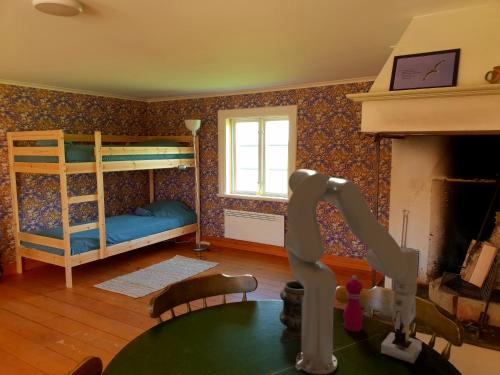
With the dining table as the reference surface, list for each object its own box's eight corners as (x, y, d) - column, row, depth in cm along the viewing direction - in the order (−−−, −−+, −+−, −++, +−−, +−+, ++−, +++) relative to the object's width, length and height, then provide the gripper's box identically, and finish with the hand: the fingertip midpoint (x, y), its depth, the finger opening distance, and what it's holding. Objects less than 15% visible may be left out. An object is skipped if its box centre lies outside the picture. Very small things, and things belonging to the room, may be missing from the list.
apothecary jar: (302, 344, 126) (302, 293, 125) (272, 334, 134) (272, 285, 132) (318, 330, 136) (319, 283, 134) (290, 321, 143) (290, 276, 141)
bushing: (406, 349, 119) (407, 325, 118) (393, 345, 122) (394, 322, 121) (409, 344, 122) (410, 321, 122) (397, 340, 125) (398, 317, 124)
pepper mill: (365, 332, 135) (367, 278, 133) (345, 332, 135) (346, 278, 133) (360, 323, 142) (361, 272, 140) (340, 323, 142) (342, 272, 140)
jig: (413, 363, 115) (413, 354, 115) (381, 352, 121) (381, 344, 121) (421, 349, 123) (421, 341, 123) (390, 340, 129) (390, 332, 129)
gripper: (409, 297, 111) (407, 355, 113) (422, 281, 124) (420, 333, 126) (383, 291, 116) (382, 347, 118) (399, 276, 129) (397, 327, 131)
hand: (402, 339), depth 122 cm, fingers closed on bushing, 3 cm apart
